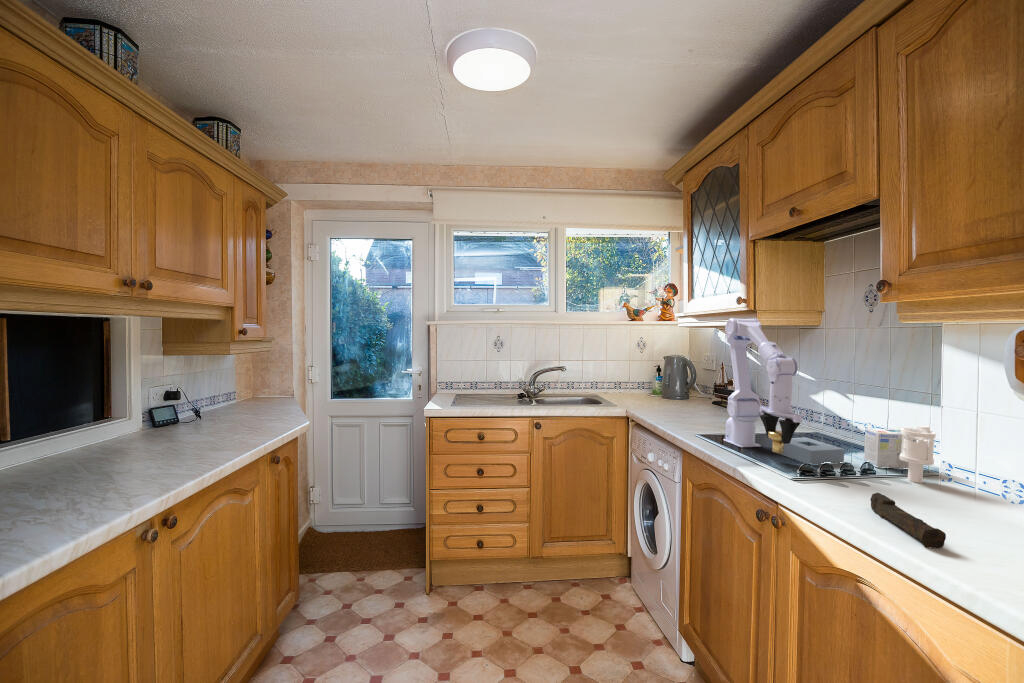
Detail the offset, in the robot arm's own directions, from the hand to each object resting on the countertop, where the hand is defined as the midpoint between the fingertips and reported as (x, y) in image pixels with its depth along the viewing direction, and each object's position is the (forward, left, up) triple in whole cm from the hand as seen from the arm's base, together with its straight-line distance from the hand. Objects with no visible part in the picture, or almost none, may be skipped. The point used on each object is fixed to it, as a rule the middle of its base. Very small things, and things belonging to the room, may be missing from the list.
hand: (778, 440), depth 141 cm
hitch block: (-2, +13, -7) cm, 15 cm away
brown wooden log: (+43, -9, -7) cm, 45 cm away
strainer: (+21, +25, -7) cm, 33 cm away
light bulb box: (+9, +31, -7) cm, 33 cm away
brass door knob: (0, 0, -4) cm, 3 cm away
